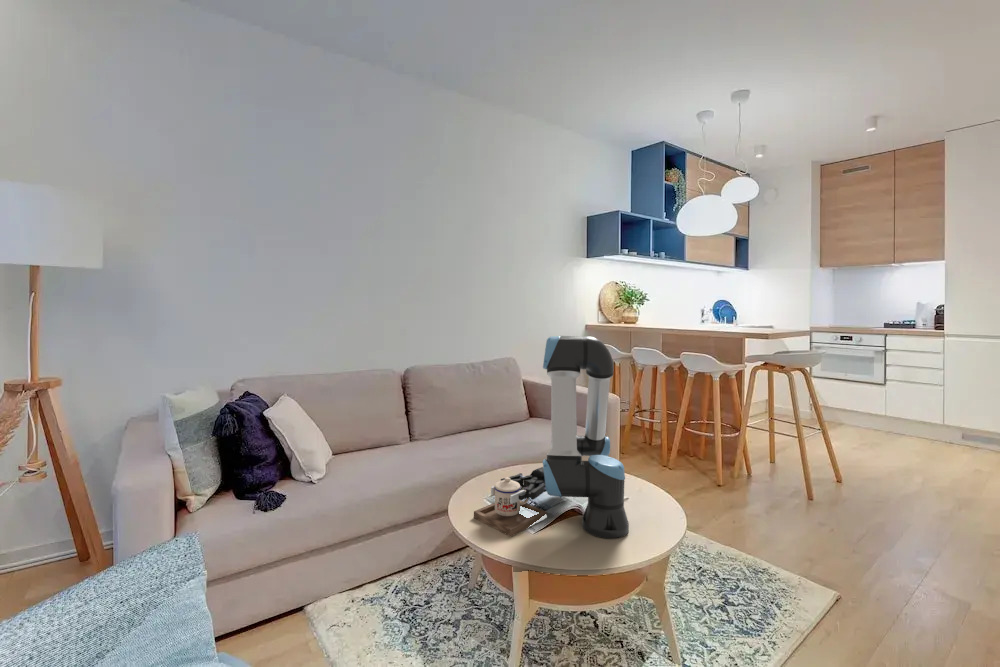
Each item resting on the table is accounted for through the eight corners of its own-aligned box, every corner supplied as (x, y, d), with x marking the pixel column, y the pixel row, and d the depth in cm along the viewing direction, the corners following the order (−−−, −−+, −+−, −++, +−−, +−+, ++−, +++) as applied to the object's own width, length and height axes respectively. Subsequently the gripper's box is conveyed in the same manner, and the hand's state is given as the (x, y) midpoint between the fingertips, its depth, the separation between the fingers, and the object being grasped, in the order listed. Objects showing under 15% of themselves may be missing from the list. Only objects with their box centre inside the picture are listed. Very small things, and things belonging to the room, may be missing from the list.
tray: (547, 518, 162) (547, 512, 162) (510, 536, 149) (511, 529, 149) (510, 502, 175) (510, 496, 175) (473, 517, 162) (473, 511, 162)
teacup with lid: (493, 516, 157) (494, 483, 156) (494, 504, 166) (494, 472, 165) (529, 517, 157) (530, 483, 156) (528, 505, 166) (528, 473, 165)
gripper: (567, 495, 167) (524, 516, 151) (523, 478, 182) (479, 496, 166) (567, 475, 166) (524, 494, 151) (523, 460, 182) (480, 475, 166)
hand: (501, 495), depth 158 cm, fingers closed on teacup with lid, 8 cm apart
